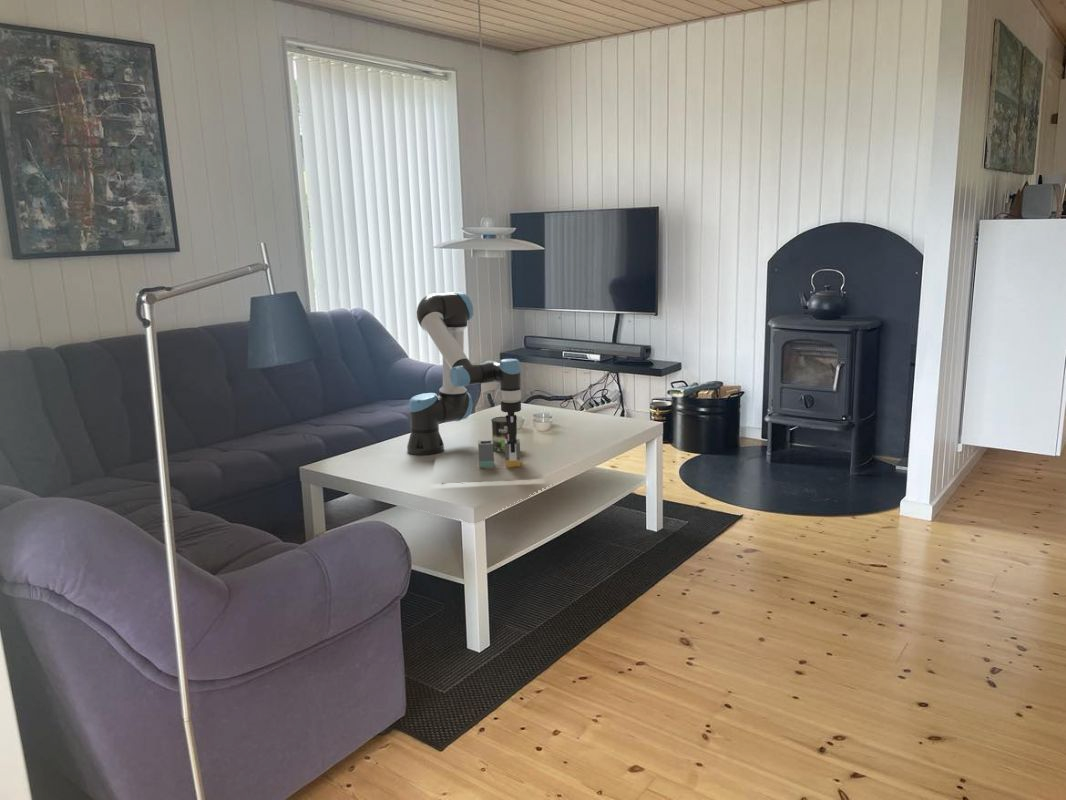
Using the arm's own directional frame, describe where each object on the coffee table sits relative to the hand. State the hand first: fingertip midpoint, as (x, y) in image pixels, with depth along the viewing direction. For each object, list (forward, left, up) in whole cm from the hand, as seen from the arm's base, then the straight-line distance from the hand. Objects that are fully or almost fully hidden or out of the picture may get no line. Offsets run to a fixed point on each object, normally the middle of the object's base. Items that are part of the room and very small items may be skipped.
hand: (512, 455), depth 308 cm
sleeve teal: (-5, -9, -3) cm, 10 cm away
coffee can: (-21, +10, -5) cm, 24 cm away
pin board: (-2, -4, -5) cm, 7 cm away
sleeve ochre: (0, 0, -3) cm, 3 cm away
